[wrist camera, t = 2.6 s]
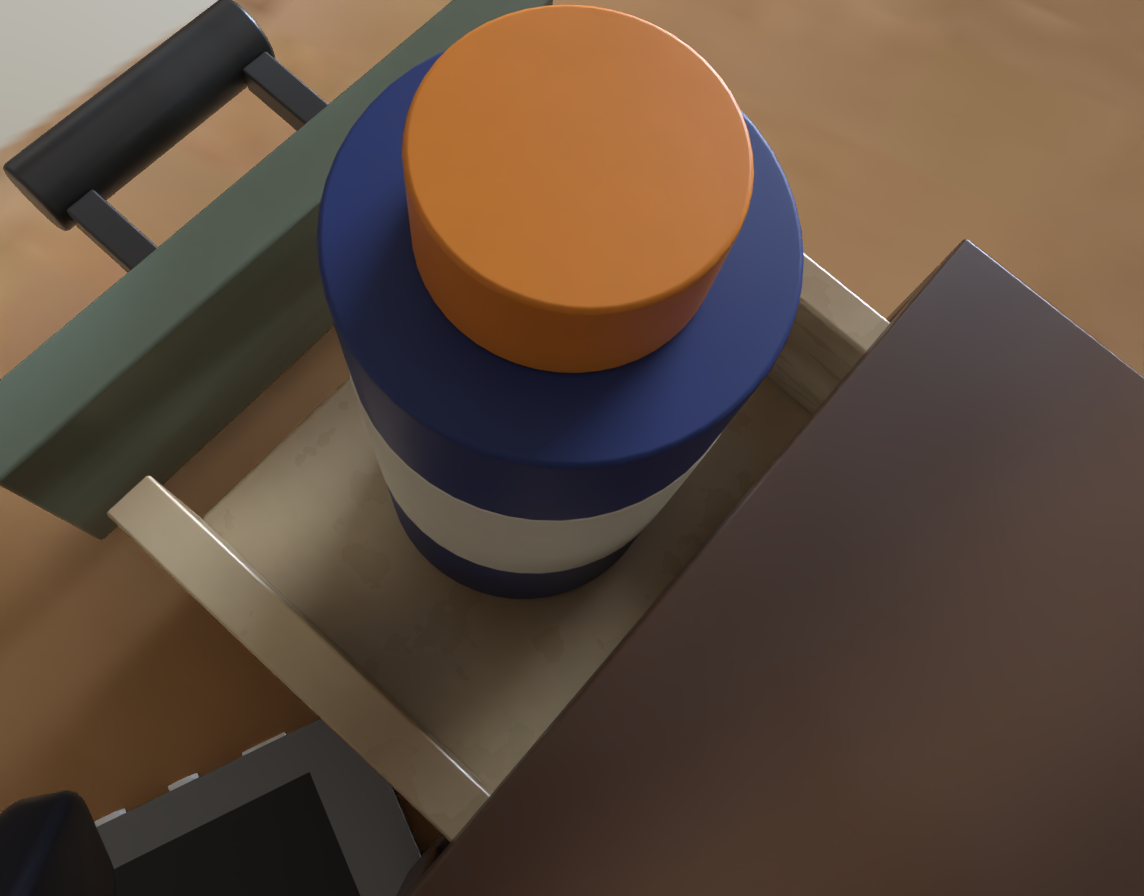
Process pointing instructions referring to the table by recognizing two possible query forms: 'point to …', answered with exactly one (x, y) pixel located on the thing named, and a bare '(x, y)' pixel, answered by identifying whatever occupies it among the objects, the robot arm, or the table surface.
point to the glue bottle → (553, 287)
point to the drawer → (325, 430)
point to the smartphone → (268, 827)
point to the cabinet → (875, 648)
